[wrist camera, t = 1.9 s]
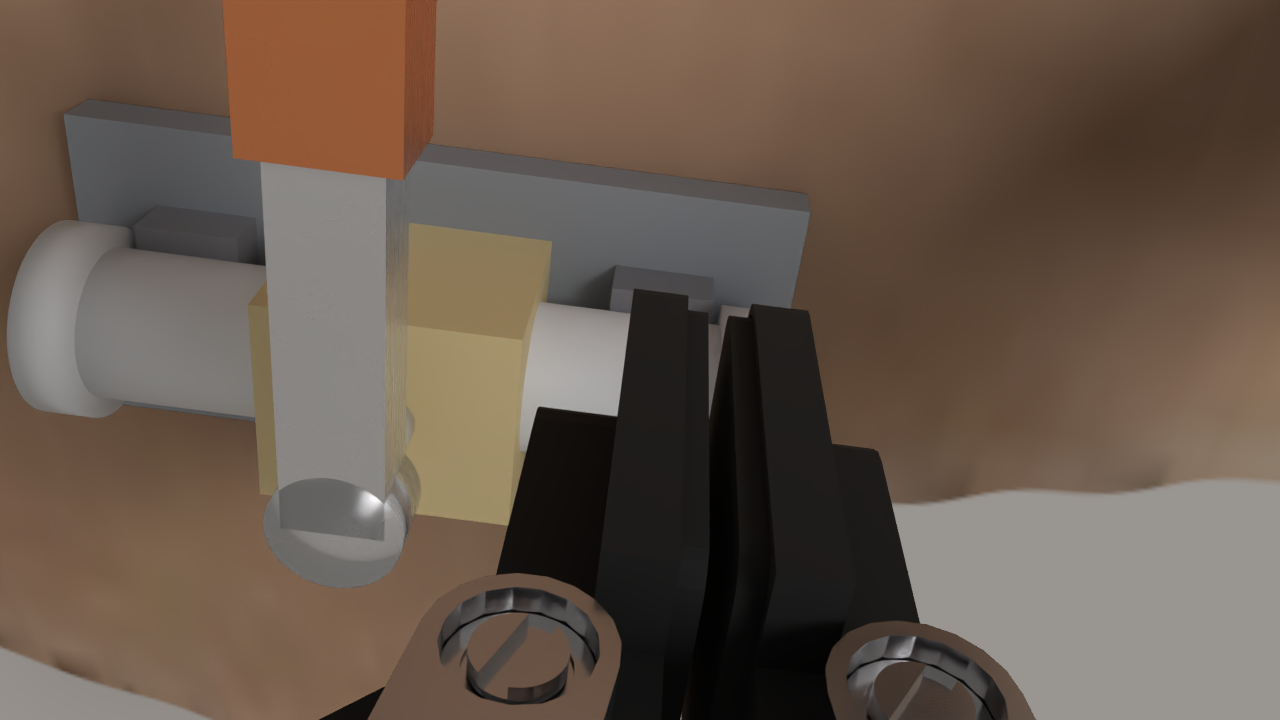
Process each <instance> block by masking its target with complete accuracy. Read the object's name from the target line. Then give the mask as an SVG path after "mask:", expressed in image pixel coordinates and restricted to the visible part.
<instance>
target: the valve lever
mask: <svg viewBox="0 0 1280 720" xmlns="http://www.w3.org/2000/svg"><path fill="white" fill-rule="evenodd" d="M222 3H223V18H224V33H225V48H226V62H227V77H228V92H229V107H230V121H231V136H232V151H233V158H235V159H243V160H251V161H258V162H260V166H261V185H262V203H263V221H264V239H265V257H266V275H267V294H268V312H269V330H270V348H271V366H272V385H273V403H274V421H275V439H276V457H277V475H278V487H277V489H276V490H275V492H274V494H273V496H272V497H271V499H270V501H269V503H268V505H267V507H266V509H265V512H264V517H263V529H264V534H265V538H266V541H267V543H268V545H269V547H270V549H271V550H272V552H273V553H274V555H275V556H276V557H277V558H278V559H279V561H280V562H281V563H283V564H284V565H285V566H286V567H287V568H288V569H290V570H291V571H292V572H294V573H295V574H297V575H299V576H300V577H302V578H304V579H306V580H308V581H311V582H314V583H316V584H320V585H323V586H328V587H334V588H354V587H361V586H365V585H368V584H371V583H374V582H376V581H378V580H379V579H381V578H383V577H384V576H385V575H387V574H388V573H389V572H390V571H391V570H392V569H393V567H394V566H395V564H396V563H397V561H398V559H399V556H400V554H401V551H402V548H403V546H404V543H405V540H406V537H407V535H408V532H409V529H410V527H411V524H412V521H413V518H414V516H415V513H416V510H417V508H418V505H419V501H420V498H421V483H420V479H419V475H418V473H417V470H416V468H415V467H414V465H413V463H412V462H411V460H410V459H409V458H408V456H407V455H406V391H407V327H408V264H409V200H410V170H411V168H412V167H413V165H414V164H415V162H416V161H417V159H418V158H419V156H420V155H421V153H422V152H423V150H424V149H425V147H426V146H427V144H428V143H429V141H430V139H431V138H432V136H433V117H434V79H435V41H436V3H437V0H222Z"/></svg>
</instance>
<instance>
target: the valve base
mask: <svg viewBox="0 0 1280 720" xmlns="http://www.w3.org/2000/svg"><path fill="white" fill-rule="evenodd" d="M63 116H64V123H65V129H66V136H67V143H68V150H69V157H70V164H71V171H72V178H73V185H74V192H75V198H76V205H77V212H78V219H79V221H76V220H61V221H58V222H56V223H53V224H52V225H50V226H49V227H47V228H46V229H45V230H44V231H43V232H42V233H41V234H40V235H39V236H38V237H37V238H36V240H35V241H34V242H33V244H32V245H31V247H30V248H29V250H28V252H27V253H26V255H25V257H24V259H23V261H22V264H21V266H20V268H19V271H18V273H17V276H16V280H15V283H14V286H13V290H12V294H11V298H10V304H9V310H8V320H7V352H8V359H9V365H10V369H11V373H12V377H13V380H14V382H15V385H16V387H17V389H18V391H19V393H20V394H21V396H22V397H23V399H24V400H25V401H26V402H27V403H28V404H29V405H30V406H32V407H33V408H35V409H37V410H40V411H44V412H52V413H60V414H68V415H76V416H83V417H91V418H103V417H107V416H109V415H111V414H113V413H114V412H115V411H117V410H118V409H119V408H120V407H121V406H122V405H129V406H137V407H145V408H153V409H161V410H168V411H176V412H184V413H192V414H200V415H207V416H215V417H223V418H231V419H239V420H246V421H254V422H255V424H256V439H257V454H258V469H259V485H260V494H263V495H271V496H273V494H274V492H275V490H276V489H277V487H278V475H277V457H276V439H275V421H274V403H273V385H272V366H271V348H270V330H269V312H268V294H267V275H266V257H265V239H264V221H263V203H262V185H261V166H260V162H258V161H251V160H243V159H235V158H233V151H232V136H231V121H230V118H229V117H221V116H213V115H206V114H198V113H191V112H183V111H175V110H168V109H160V108H153V107H145V106H137V105H130V104H122V103H115V102H107V101H100V100H92V99H87V100H86V101H84V102H82V103H81V104H79V105H77V106H76V107H74V108H73V109H71V110H69V111H68V112H66V113H64V114H63ZM810 215H811V210H810V206H809V201H808V196H807V194H805V193H798V192H790V191H782V190H775V189H767V188H760V187H752V186H745V185H737V184H729V183H722V182H714V181H707V180H699V179H691V178H684V177H676V176H669V175H661V174H653V173H646V172H638V171H631V170H623V169H616V168H608V167H600V166H593V165H585V164H578V163H570V162H562V161H555V160H547V159H540V158H532V157H524V156H517V155H509V154H502V153H494V152H487V151H479V150H471V149H464V148H456V147H449V146H441V145H433V144H427V146H426V147H425V149H424V150H423V152H422V153H421V155H420V156H419V158H418V159H417V161H416V162H415V164H414V165H413V167H412V168H411V170H410V200H409V264H408V327H407V391H406V455H407V456H408V458H409V459H410V460H411V462H412V463H413V465H414V467H415V468H416V470H417V473H418V475H419V479H420V483H421V498H420V501H419V505H418V508H417V510H416V513H415V514H420V515H428V516H436V517H444V518H452V519H460V520H467V521H475V522H483V523H491V524H499V525H507V526H508V524H509V520H510V516H511V512H512V508H513V504H514V500H515V496H516V492H517V488H518V483H519V479H520V475H521V471H522V467H523V463H524V459H525V455H526V451H527V447H528V443H529V439H530V434H531V430H532V426H533V422H534V418H535V415H536V411H537V408H538V407H539V406H540V407H548V408H556V409H563V410H571V411H579V412H587V413H595V414H603V415H610V416H617V414H618V407H619V399H620V391H621V384H622V376H623V368H624V360H625V353H626V345H627V337H628V329H629V322H630V314H631V306H632V298H633V291H634V288H635V289H643V290H651V291H658V292H666V293H674V294H681V295H688V298H689V301H688V310H692V311H699V312H707V313H708V315H709V417H710V411H711V405H712V400H713V394H714V389H715V383H716V377H717V372H718V366H719V361H720V355H721V349H722V344H723V338H724V333H725V327H726V323H727V319H728V316H729V315H730V316H738V317H746V318H748V314H749V310H750V307H751V305H752V304H759V305H766V306H774V307H782V308H790V309H791V305H792V300H793V295H794V291H795V286H796V281H797V276H798V272H799V267H800V262H801V257H802V253H803V248H804V243H805V238H806V234H807V229H808V224H809V219H810Z"/></svg>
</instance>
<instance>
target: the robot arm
mask: <svg viewBox="0 0 1280 720" xmlns="http://www.w3.org/2000/svg"><path fill="white" fill-rule="evenodd" d="M688 301H689V298H688V295H681V294H674V293H666V292H658V291H651V290H643V289H635V288H634V291H633V298H632V306H631V314H630V322H629V329H628V337H627V345H626V353H625V360H624V368H623V376H622V384H621V391H620V399H619V407H618V414H617V416H610V415H603V414H595V413H587V412H579V411H571V410H563V409H556V408H548V407H540V406H539V407H538V408H537V411H536V415H535V418H534V422H533V426H532V430H531V434H530V439H529V443H528V447H527V451H526V455H525V459H524V463H523V467H522V471H521V475H520V479H519V483H518V488H517V492H516V496H515V500H514V504H513V508H512V512H511V516H510V520H509V524H508V528H507V532H506V537H505V541H504V545H503V549H502V553H501V557H500V561H499V565H498V569H497V573H496V575H491V576H486V577H483V578H480V579H477V580H474V581H471V582H467V583H464V584H461V585H459V586H458V587H456V588H455V589H453V590H452V591H450V592H448V593H447V594H445V595H444V596H442V597H441V598H439V599H438V600H437V601H436V602H435V603H434V605H433V606H432V607H431V608H430V610H429V611H428V612H427V613H426V614H425V616H424V617H423V618H422V619H421V621H420V623H419V625H418V627H417V629H416V631H415V632H414V634H413V636H412V638H411V640H410V642H409V644H408V645H407V647H406V649H405V651H404V653H403V655H402V657H401V658H400V660H399V662H398V664H397V666H396V668H395V669H394V671H393V673H392V675H391V677H390V679H389V681H388V682H387V684H386V686H385V687H383V688H381V689H379V690H377V691H375V692H373V693H371V694H369V695H367V696H365V697H363V698H361V699H359V700H357V701H355V702H353V703H351V704H349V705H347V706H345V707H343V708H341V709H339V710H337V711H335V712H333V713H331V714H329V715H327V716H325V717H323V718H321V719H319V720H680V718H681V713H682V720H1036V719H1035V717H1034V715H1033V713H1032V712H1031V709H1030V707H1029V705H1028V703H1027V701H1026V699H1025V697H1024V696H1023V694H1022V692H1021V691H1020V689H1019V688H1018V686H1017V685H1016V683H1015V682H1014V681H1013V679H1012V678H1011V676H1010V675H1009V673H1008V672H1007V671H1006V670H1005V669H1004V668H1003V667H1002V666H1001V665H999V664H998V663H997V662H996V661H995V660H994V659H993V658H991V657H990V656H989V655H988V654H987V653H986V652H985V651H984V650H982V649H980V648H978V647H977V646H975V645H973V644H972V643H970V642H968V641H966V640H965V639H963V638H961V637H959V636H958V635H956V634H953V633H950V632H947V631H944V630H941V629H938V628H935V627H933V626H929V625H927V624H920V622H919V617H918V613H917V609H916V605H915V601H914V597H913V592H912V588H911V584H910V579H909V575H908V571H907V567H906V563H905V558H904V554H903V550H902V546H901V541H900V537H899V533H898V529H897V525H896V521H895V516H894V512H893V508H892V503H891V499H890V495H889V491H888V487H887V482H886V478H885V474H884V470H883V465H882V461H881V459H880V456H879V454H878V452H877V451H876V450H874V449H869V448H861V447H853V446H845V445H837V444H832V442H831V436H830V430H829V424H828V419H827V413H826V407H825V401H824V396H823V390H822V384H821V378H820V373H819V367H818V361H817V355H816V350H815V344H814V338H813V332H812V327H811V321H810V315H809V312H808V311H805V310H797V309H790V308H782V307H774V306H766V305H759V304H752V305H751V307H750V310H749V314H748V318H746V317H738V316H730V315H729V316H728V319H727V323H726V327H725V333H724V338H723V344H722V349H721V355H720V361H719V366H718V372H717V377H716V383H715V389H714V394H713V400H712V405H711V411H710V417H709V315H708V313H707V312H699V311H692V310H688Z"/></svg>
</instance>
